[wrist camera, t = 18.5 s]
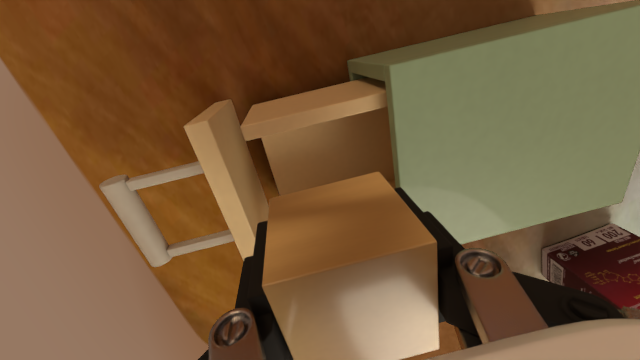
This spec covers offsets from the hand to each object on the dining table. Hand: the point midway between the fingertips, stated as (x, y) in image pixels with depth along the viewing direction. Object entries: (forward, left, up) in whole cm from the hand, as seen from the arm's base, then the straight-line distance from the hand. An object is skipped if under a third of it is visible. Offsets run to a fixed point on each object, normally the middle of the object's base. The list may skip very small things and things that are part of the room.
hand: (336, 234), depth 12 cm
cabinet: (+11, 0, -12) cm, 16 cm away
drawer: (-2, 0, -11) cm, 11 cm away
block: (0, 0, 0) cm, 0 cm away
